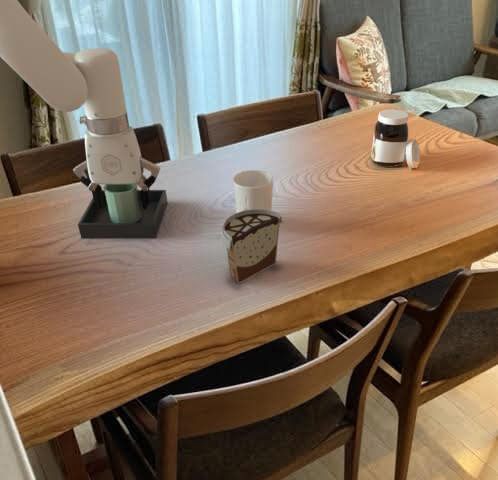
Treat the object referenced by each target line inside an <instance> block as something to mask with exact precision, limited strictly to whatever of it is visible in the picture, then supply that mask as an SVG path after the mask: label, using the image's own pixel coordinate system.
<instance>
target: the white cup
mask: <svg viewBox="0 0 498 480" xmlns="http://www.w3.org/2000/svg"><path fill="white" fill-rule="evenodd" d="M232 186H233V187H232V188H233V196H234V205H235V206H234V207H235V214H236V213H238V212H241V211H246V210H253V209H263V210H270V211H272V206H273V193H274V191H273V189H274V176H273V175H272V174H271V173H269V172H267V171H265V170H259V169H257V170H256V169H251V170H244V171H240V172H238V173H236V174H235V175H234V176H233V177H232Z"/></svg>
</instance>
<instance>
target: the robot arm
mask: <svg viewBox="0 0 498 480" xmlns="http://www.w3.org/2000/svg"><path fill="white" fill-rule="evenodd" d="M0 58H1V59H2V60H3V61H4V62H5V63H6V64H7V65H8V66H9V67H10V68H11V69H12V70H13V72H15V73H16V74H17V75H18V76H19V77H20V78H21V79H22V80H23V81H24V82H25V83H26V84H27V85H28V86H29V87H30V88H31V89H32V90H33V91H34V92H35V93H36V94H37V95H38V96H40V97H41V99H43V101H44V102H45V103H47V105H49V107H51V108H52V109H54V110H56V111H59V112H61V113H62V112H63V113H70V112H75V111H77V110H79V109H80V108H82V107H83V108H84V109H83V110H84V115H82V116H79V118H78V120H79V121H78V122H79V124H80V125H84V126H85V127H86V131H84V149H85V157H86V160H84V161H83V162H80V163H79V164H78V165H76V166H75V167H74V168H73V169H72V170H73V173H74V174H75V176H76V177H77V178H78V179H79V180H80V182H81V184H83V185H84V186H85V187H87V188H88V190H89V191H90V192H91V194H92V199H93V200H94V203H95V204H97V209H101V208H102V207H103V205H104V197H103V192H102V190H103V188H102V186H101V185H106V184H137V187H139V188H140V190H141V191H140V194H141V201H142V207H143V209H147V207H148V204H149V203H151V197H150V190H151V189H150V188H151V187H152V186H153V185H154V184H155V182H156V180H157V179H158V175H159V173H160V170H161V167H160V166H159V165H157V164H155V163H154V162H151V161H150V160H147V159H145V158H143V157H142V153H141V148H140V145H139V142H138V139H137V135H136V133H135V130H134V127H132V126H130V122H129V117H128V110H127V103H126V98H125V92H124V91H125V90H124V86H123V85H124V84H123V80H122V73H121V66H120V60H119V57H118V55H117V54H116V52H115V51H113V50H112V49H109V48H103V47H102V48H101V47H96V48H95V47H94V48H88V49H83V50H81V51H74V52H72V51H71V52H70V51H69V52H68V51H67V52H65V51H63V50H62V49H61V48H60V47H59V46H58V45H57V44H56V43H55V42H54V41H53V39H52V38H51V37H50V36H49V35H48V34H47V33H46V32H45V31H44V30H43V29H42V28H41V26H40V25H39V24H38V23H37V22H36V21H35V20H34V18H32V16H31V15H30V14H29V13H28V12H27V10H25V8H24V7H23V6H22V3H20V1H19V0H0ZM144 169H145V170H147V171H149V172H150V176H148V177H146V176H145V174H144V173H145V172H144V171H145V170H144ZM86 170H87V172H88V174H86V172H85V171H86Z"/></svg>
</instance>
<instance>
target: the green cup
mask: <svg viewBox="0 0 498 480" xmlns="http://www.w3.org/2000/svg"><path fill="white" fill-rule="evenodd" d="M138 187H139V186H138V185H137V184H104V186H103V190H104V192H105V197H106V202H107V206H108V211H109V216H110V220H111V221H112V222H113V223H134V222H137V221H138V220H140V219H141V217H142V211H141V205H140V199H139V193H138V190H139V188H138Z"/></svg>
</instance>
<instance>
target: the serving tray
mask: <svg viewBox="0 0 498 480" xmlns="http://www.w3.org/2000/svg"><path fill="white" fill-rule="evenodd" d="M149 190H150V197H151V203H149V204H148V207H147V209H143V207H142V201H141V194H140V191H141V189H138V193H139V199H140V205H141V211H142V217H141V219H140V220H138V221H137V222H134V223H113V222H112V221H111V220H110V216H109V211H108V206H107V202H106V197H105V192H104V189H102V192H103V197H104V205H103V207H102V208H101V209H97V204H95V203H94V200H93V198H91V200H90V202H89V204H88V206H87V208H86V209H85V210H84V213H83V214H82V216H81V218H80V220H79V222H78V224H77V226H78V231H79V235H80V239H157V236H158V234H159V230H160V227H161V224H162V221H163V218H164V215H165V211H166V208H167V206H168V195H167V190H166V189H149Z"/></svg>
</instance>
